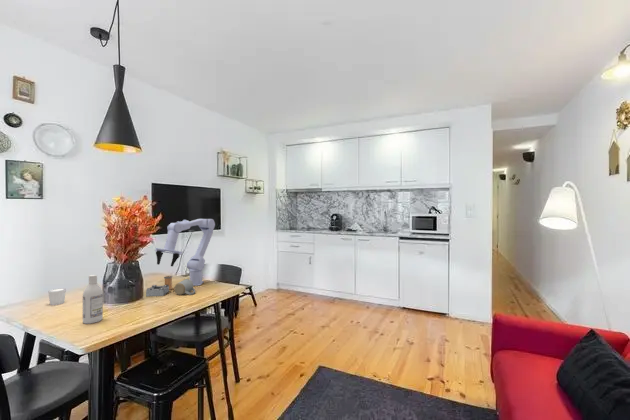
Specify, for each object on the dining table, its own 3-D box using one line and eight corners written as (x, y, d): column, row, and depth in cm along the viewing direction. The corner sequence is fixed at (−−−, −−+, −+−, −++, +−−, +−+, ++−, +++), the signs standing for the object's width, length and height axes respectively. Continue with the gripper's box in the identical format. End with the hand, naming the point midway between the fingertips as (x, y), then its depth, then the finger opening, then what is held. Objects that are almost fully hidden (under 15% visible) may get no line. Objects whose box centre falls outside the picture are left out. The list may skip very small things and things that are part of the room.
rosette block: (152, 291, 172) (152, 285, 172) (168, 291, 173) (169, 284, 173) (146, 296, 163) (146, 289, 163) (163, 295, 164) (163, 288, 164)
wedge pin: (166, 288, 179) (166, 275, 179) (172, 288, 179) (172, 275, 179) (163, 290, 175) (164, 277, 175) (170, 290, 176) (170, 277, 176)
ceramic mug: (173, 295, 166) (173, 281, 166) (182, 291, 174) (182, 278, 174) (189, 296, 164) (190, 283, 164) (198, 292, 172) (198, 279, 172)
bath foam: (106, 317, 131) (106, 273, 131) (96, 323, 124) (96, 276, 124) (89, 318, 130) (89, 273, 130) (78, 324, 123) (78, 277, 123)
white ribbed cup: (49, 306, 145) (50, 292, 145) (46, 303, 150) (46, 290, 150) (67, 303, 151) (67, 289, 151) (63, 300, 155) (64, 287, 155)
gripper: (155, 239, 168) (149, 263, 164) (181, 243, 170) (175, 266, 166) (160, 241, 175) (153, 264, 171) (185, 245, 177) (179, 267, 173)
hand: (164, 265), depth 169 cm, fingers open, 7 cm apart
